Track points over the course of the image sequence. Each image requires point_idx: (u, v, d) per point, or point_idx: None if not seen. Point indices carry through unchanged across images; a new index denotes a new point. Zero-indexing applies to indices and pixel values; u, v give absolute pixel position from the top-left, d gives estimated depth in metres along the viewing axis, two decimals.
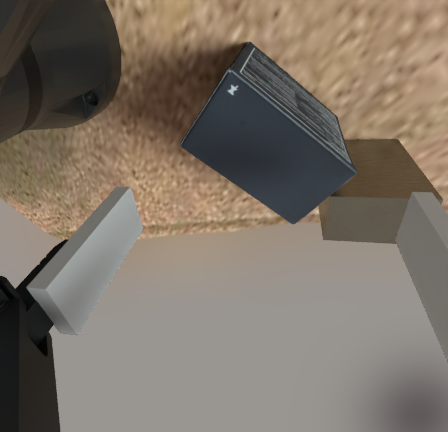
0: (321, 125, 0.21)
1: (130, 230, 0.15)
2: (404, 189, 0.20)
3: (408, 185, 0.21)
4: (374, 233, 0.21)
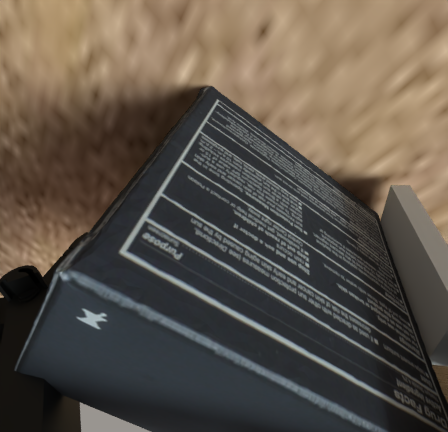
0: (367, 301, 0.09)
1: None
2: None
3: None
4: None
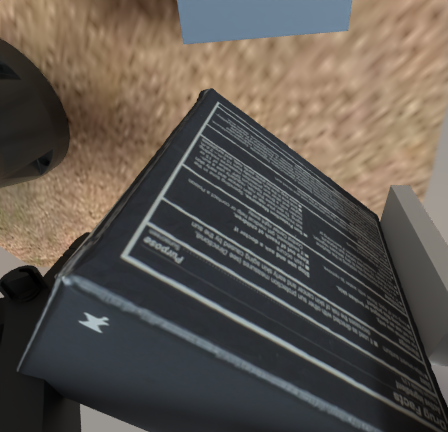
0: (366, 303, 0.09)
1: None
2: None
3: None
4: None
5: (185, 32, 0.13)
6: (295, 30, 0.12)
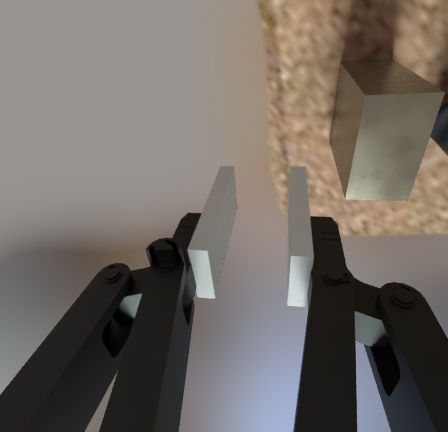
0: None
1: (233, 207, 0.16)
2: None
3: None
4: (368, 153, 0.18)
5: None
6: None
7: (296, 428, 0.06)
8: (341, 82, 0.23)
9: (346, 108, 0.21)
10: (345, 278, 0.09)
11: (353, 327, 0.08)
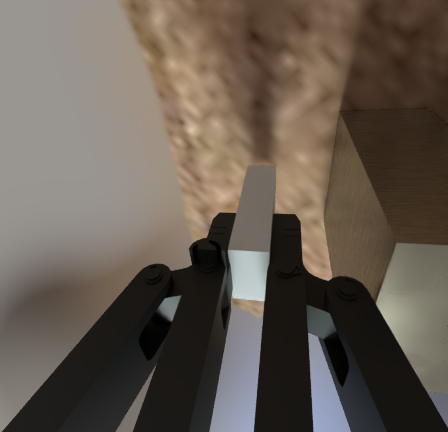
0: None
1: None
2: None
3: None
4: (396, 330, 0.09)
5: None
6: None
7: (256, 422, 0.06)
8: (341, 146, 0.14)
9: (350, 206, 0.12)
10: (296, 271, 0.09)
11: (305, 317, 0.08)
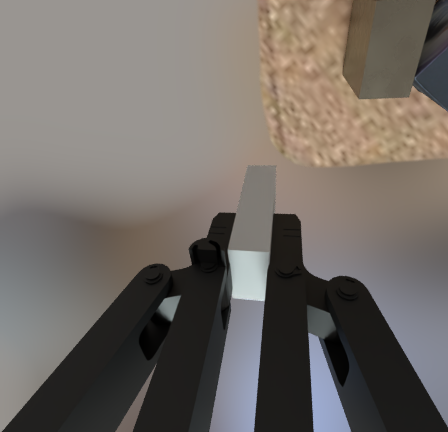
0: None
1: None
2: None
3: None
4: (378, 53, 0.23)
5: None
6: None
7: (256, 422, 0.06)
8: (354, 13, 0.29)
9: (359, 28, 0.26)
10: (297, 271, 0.09)
11: (306, 316, 0.08)
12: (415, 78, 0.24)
